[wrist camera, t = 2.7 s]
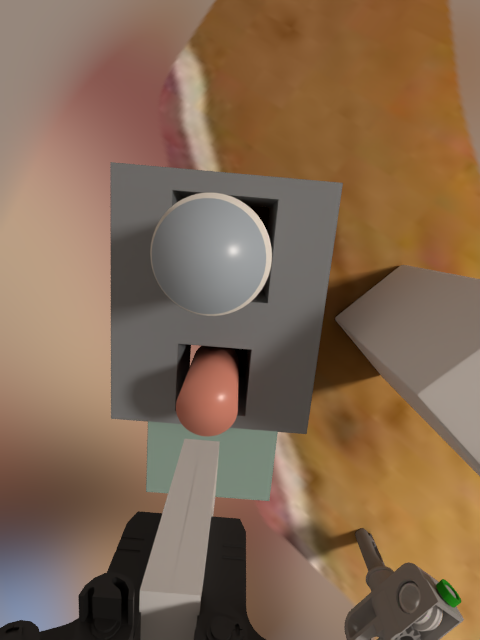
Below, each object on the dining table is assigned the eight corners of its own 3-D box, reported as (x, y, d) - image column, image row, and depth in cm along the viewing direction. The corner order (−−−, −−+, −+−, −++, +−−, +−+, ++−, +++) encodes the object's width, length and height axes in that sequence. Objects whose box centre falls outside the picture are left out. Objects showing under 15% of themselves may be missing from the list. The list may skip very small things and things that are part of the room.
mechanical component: (318, 558, 37) (346, 676, 27) (388, 493, 35) (445, 594, 25) (339, 573, 37) (374, 694, 27) (409, 509, 35) (474, 614, 25)
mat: (147, 488, 35) (146, 491, 34) (149, 405, 33) (148, 407, 32) (268, 497, 35) (269, 500, 34) (278, 415, 33) (279, 417, 32)
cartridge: (194, 273, 30) (142, 316, 14) (197, 211, 28) (144, 183, 13) (253, 278, 30) (266, 326, 14) (259, 216, 29) (281, 195, 13)
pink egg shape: (192, 382, 28) (174, 433, 21) (194, 339, 27) (177, 377, 20) (237, 385, 28) (235, 438, 21) (240, 343, 27) (240, 382, 20)
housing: (139, 379, 32) (111, 418, 25) (142, 179, 28) (110, 162, 21) (292, 391, 32) (306, 434, 25) (318, 195, 28) (342, 183, 21)
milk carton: (333, 317, 30) (473, 445, 12) (401, 263, 29) (671, 313, 11) (381, 375, 32) (574, 573, 13) (448, 326, 31) (762, 465, 12)
